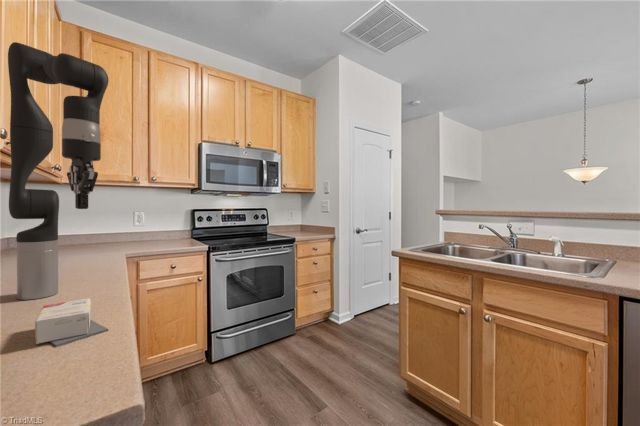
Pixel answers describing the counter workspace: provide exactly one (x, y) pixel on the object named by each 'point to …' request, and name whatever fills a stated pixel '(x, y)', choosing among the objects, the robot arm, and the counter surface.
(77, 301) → the ink box
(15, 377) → the counter surface
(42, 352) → the counter surface
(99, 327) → the mat
